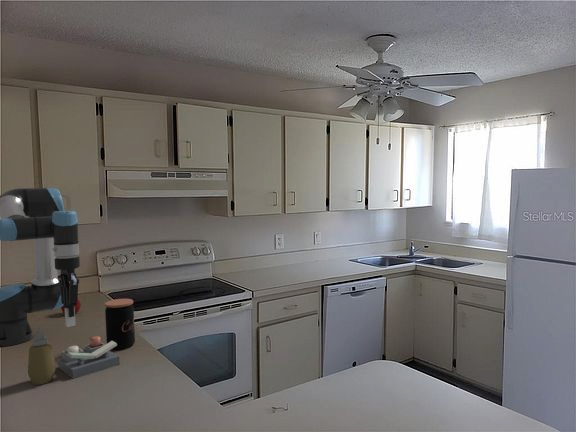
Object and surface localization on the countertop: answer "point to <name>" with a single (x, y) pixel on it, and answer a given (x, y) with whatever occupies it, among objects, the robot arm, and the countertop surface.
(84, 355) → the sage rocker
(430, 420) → the countertop surface
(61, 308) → the apple
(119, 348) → the coffee jar
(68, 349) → the ivory button
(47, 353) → the squeeze bottle
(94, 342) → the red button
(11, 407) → the countertop surface
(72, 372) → the panel
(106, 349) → the block
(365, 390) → the countertop surface
